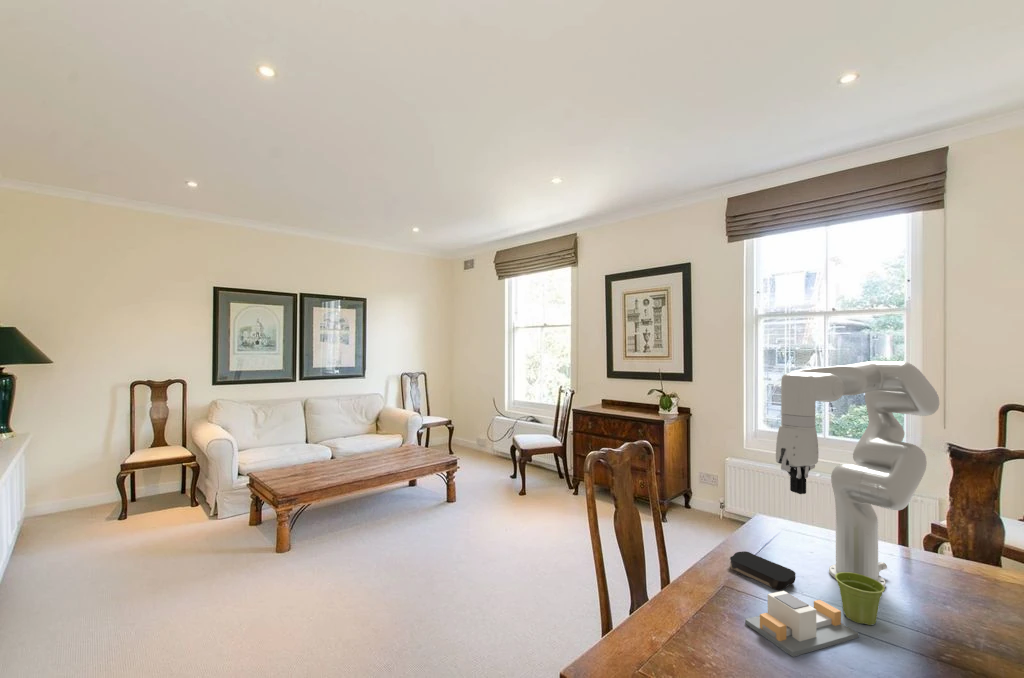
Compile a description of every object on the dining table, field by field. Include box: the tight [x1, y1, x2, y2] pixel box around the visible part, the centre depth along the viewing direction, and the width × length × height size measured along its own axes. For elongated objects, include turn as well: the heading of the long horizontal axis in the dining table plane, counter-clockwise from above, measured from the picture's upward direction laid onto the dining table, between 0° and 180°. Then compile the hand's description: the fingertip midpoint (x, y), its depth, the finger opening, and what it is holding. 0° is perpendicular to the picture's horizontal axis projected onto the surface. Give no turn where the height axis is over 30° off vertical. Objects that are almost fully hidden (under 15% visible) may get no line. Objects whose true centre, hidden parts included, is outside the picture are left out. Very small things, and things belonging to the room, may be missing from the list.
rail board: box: [744, 599, 860, 658], centre depth 103 cm, size 20×12×4 cm, turn 110°
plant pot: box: [834, 572, 886, 626], centre depth 108 cm, size 9×9×9 cm
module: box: [767, 590, 816, 642], centre depth 102 cm, size 5×8×6 cm, turn 19°
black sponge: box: [729, 550, 797, 591], centre depth 128 cm, size 16×8×4 cm, turn 29°
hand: (798, 492), depth 117 cm, fingers closed
